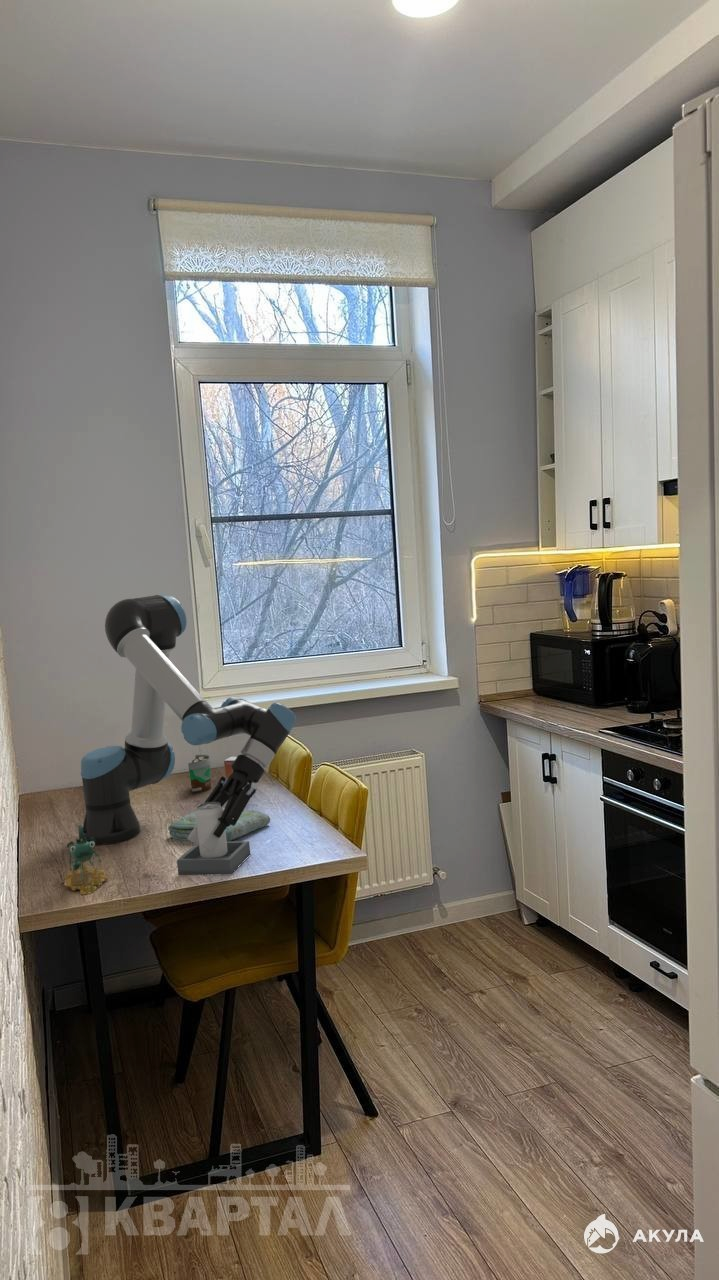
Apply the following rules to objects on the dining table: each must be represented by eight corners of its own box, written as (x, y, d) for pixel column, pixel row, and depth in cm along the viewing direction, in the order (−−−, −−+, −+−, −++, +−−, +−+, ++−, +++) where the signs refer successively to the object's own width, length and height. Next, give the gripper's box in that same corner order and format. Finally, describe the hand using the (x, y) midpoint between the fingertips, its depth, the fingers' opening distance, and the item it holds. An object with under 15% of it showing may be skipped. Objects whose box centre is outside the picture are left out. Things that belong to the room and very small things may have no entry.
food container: (211, 793, 286) (207, 761, 285) (191, 795, 286) (187, 763, 285) (217, 783, 299) (214, 752, 298) (198, 784, 299) (195, 754, 298)
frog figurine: (106, 867, 225) (100, 809, 222) (110, 899, 208) (104, 837, 205) (64, 873, 222) (58, 815, 219) (65, 907, 205) (58, 844, 202)
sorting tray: (178, 874, 214) (176, 860, 213) (200, 855, 226) (198, 841, 226) (231, 874, 211) (229, 859, 210) (250, 855, 223) (249, 841, 223)
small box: (226, 794, 284) (223, 760, 283) (234, 789, 289) (230, 756, 288) (250, 793, 282) (247, 760, 281) (257, 788, 287) (254, 755, 286)
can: (231, 850, 221) (226, 801, 220) (221, 859, 214) (216, 809, 213) (206, 850, 222) (201, 801, 221) (195, 859, 216) (190, 809, 215)
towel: (211, 819, 258) (210, 801, 258) (272, 826, 247) (270, 807, 246) (165, 840, 243) (163, 821, 243) (227, 848, 232) (225, 828, 231)
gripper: (284, 776, 218) (230, 861, 210) (243, 764, 234) (191, 844, 226) (262, 758, 214) (207, 845, 206) (222, 748, 230) (169, 828, 222)
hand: (199, 844), depth 216 cm, fingers closed on can, 6 cm apart
